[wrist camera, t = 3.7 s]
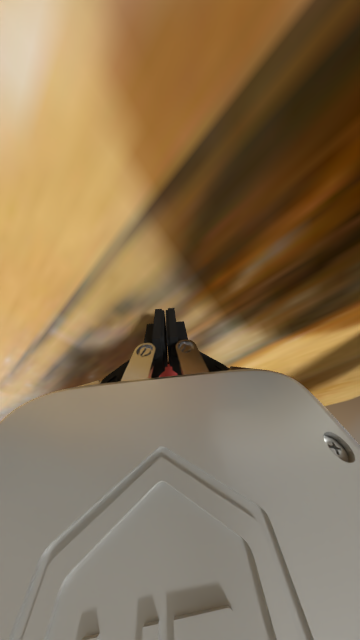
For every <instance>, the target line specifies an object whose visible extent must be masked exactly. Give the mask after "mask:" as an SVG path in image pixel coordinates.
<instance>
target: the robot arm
mask: <svg viewBox="0 0 360 640" xmlns="http://www.w3.org/2000/svg"><path fill="white" fill-rule="evenodd" d="M167 347H168V356H169V365H170V367H171V366H172V370H173V371H174V372H176V373H177V375H176V376H166V377H160V375H161V374H162V373H163V372H164V371H165V367H168V363H167ZM0 640H360V445H359V444H358V443H357V442H356V441H355V439H354V438H353V437H352V436H351V435H350V434H349V433H348V431H347V430H346V429H345V428H344V427H343V426H342V425H341V424H340V423H339V422H338V421H337V419H336V418H335V417H334V416H333V415H332V414H331V413H330V412H329V411H328V410H327V409H326V408H325V406H324V405H323V404H322V403H321V402H320V401H319V400H318V399H317V398H316V397H315V396H314V395H313V394H312V393H311V392H310V391H308V390H307V389H306V388H305V387H304V386H303V385H302V384H300V383H299V382H298V381H296V380H295V379H293V378H291V377H289V376H287V375H284V374H281V373H278V372H273V371H269V370H261V369H251V368H241V367H230V368H227V367H226V366H225V365H223V364H221V363H220V362H218V361H216V360H214V359H212V358H210V357H209V356H207V355H205V354H203V353H201V352H199V350H198V348H197V346H196V344H195V343H194V342H193V341H191V340H188V338H187V333H186V329H185V324H184V321H183V322H176V318H175V311H174V308H168V310H166V324H165V314H164V310H162V309H155V317H154V324H147V328H146V334H145V339H144V343H143V344H140V345H139V346H137V347H136V349H135V350H134V352H133V355H132V357H131V359H130V360H129V361H127V362H126V363H124V364H123V365H122V366H120V367H119V368H117V369H116V370H115V371H113V372H112V373H111V374H109V375H108V376H106V377H105V378H104V379H103V380H102V381H99V380H97V381H94V382H91V383H87V384H84V385H81V386H77V387H73V388H67V389H63V390H59V391H55V392H52V393H49V394H45V395H43V396H40V397H38V398H35V399H33V400H31V401H29V402H27V403H25V404H23V405H21V406H19V407H18V408H16V409H15V410H13V411H12V412H11V413H10V414H8V415H7V416H6V417H5V418H4V419H3V420H2V421H1V422H0Z"/></svg>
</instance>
